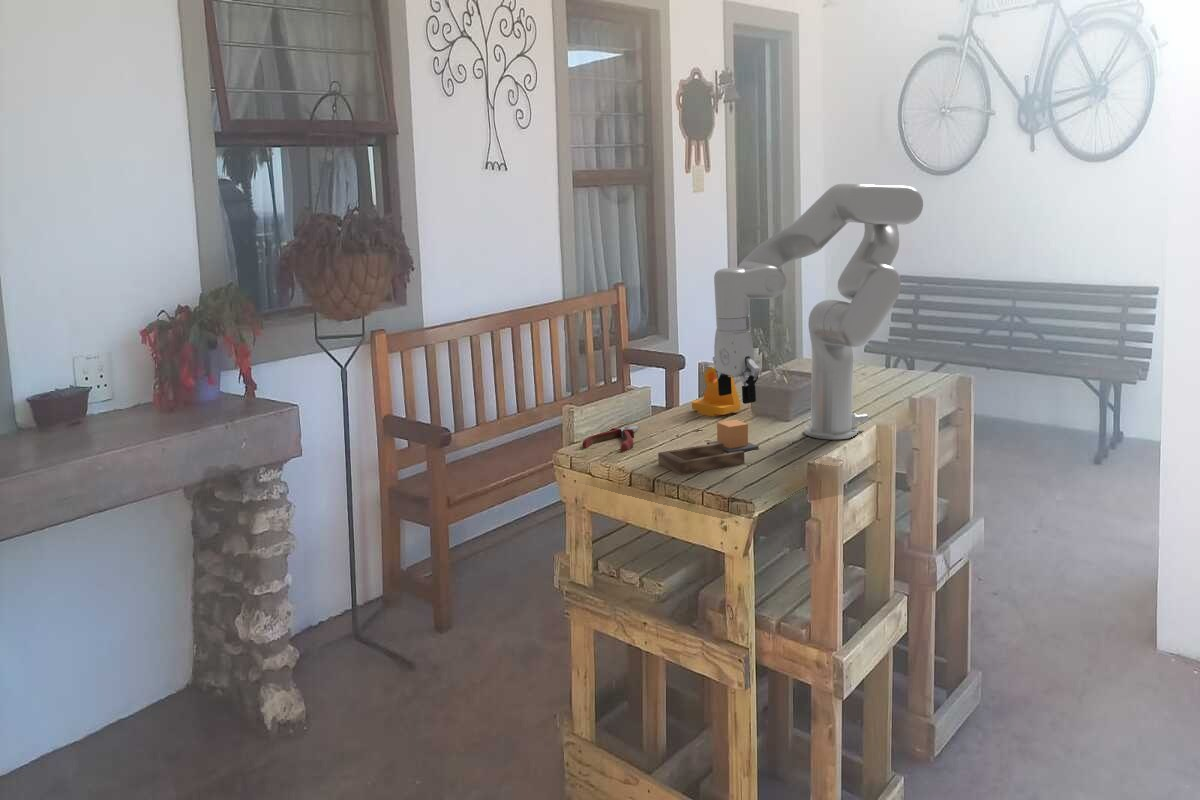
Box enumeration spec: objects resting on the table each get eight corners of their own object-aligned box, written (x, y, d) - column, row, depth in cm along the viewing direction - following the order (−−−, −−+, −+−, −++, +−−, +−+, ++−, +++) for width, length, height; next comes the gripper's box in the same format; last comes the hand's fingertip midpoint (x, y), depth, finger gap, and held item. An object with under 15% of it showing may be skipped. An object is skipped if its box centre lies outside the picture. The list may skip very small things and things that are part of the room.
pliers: (656, 432, 254) (656, 422, 253) (626, 454, 236) (626, 443, 235) (612, 429, 258) (612, 419, 258) (580, 450, 240) (580, 440, 240)
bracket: (690, 411, 272) (689, 366, 269) (708, 406, 277) (708, 362, 274) (721, 418, 264) (721, 372, 261) (740, 413, 269) (740, 367, 266)
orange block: (735, 440, 240) (735, 419, 239) (747, 445, 236) (747, 424, 235) (717, 443, 238) (717, 422, 237) (729, 448, 234) (729, 427, 233)
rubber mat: (736, 440, 243) (736, 437, 243) (758, 448, 235) (758, 446, 235) (707, 444, 240) (707, 442, 240) (728, 454, 232) (728, 451, 232)
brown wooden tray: (720, 452, 233) (720, 442, 232) (744, 463, 225) (744, 451, 224) (658, 463, 226) (658, 452, 226) (680, 474, 218) (680, 463, 217)
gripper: (698, 322, 237) (702, 394, 241) (741, 331, 222) (744, 408, 226) (726, 317, 240) (730, 389, 244) (770, 326, 225) (773, 402, 229)
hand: (737, 398), depth 235 cm, fingers open, 9 cm apart
